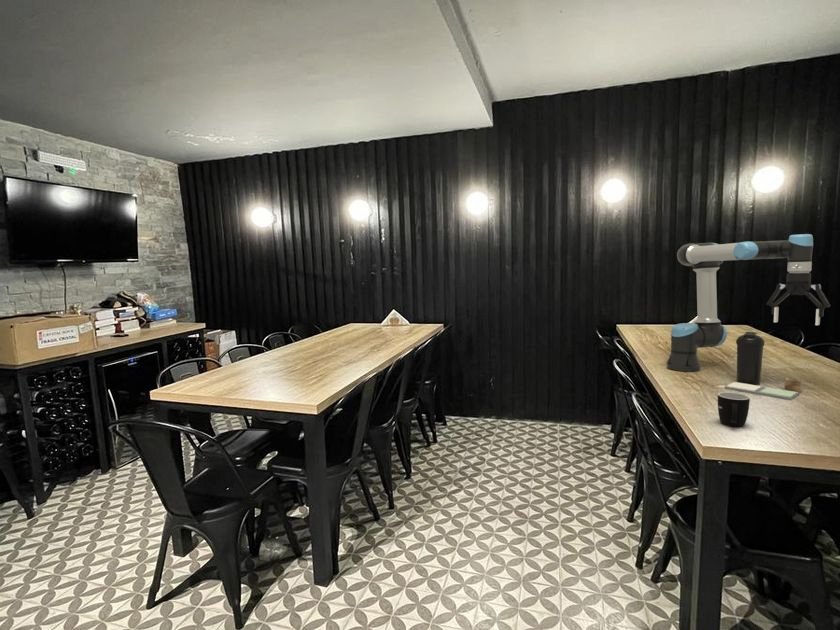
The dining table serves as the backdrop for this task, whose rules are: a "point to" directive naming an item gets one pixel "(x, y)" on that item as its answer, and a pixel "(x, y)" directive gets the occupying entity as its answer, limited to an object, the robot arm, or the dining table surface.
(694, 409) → the dining table surface
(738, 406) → the mug
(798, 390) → the walnut block
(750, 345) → the black travel mug
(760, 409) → the dining table surface
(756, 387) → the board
